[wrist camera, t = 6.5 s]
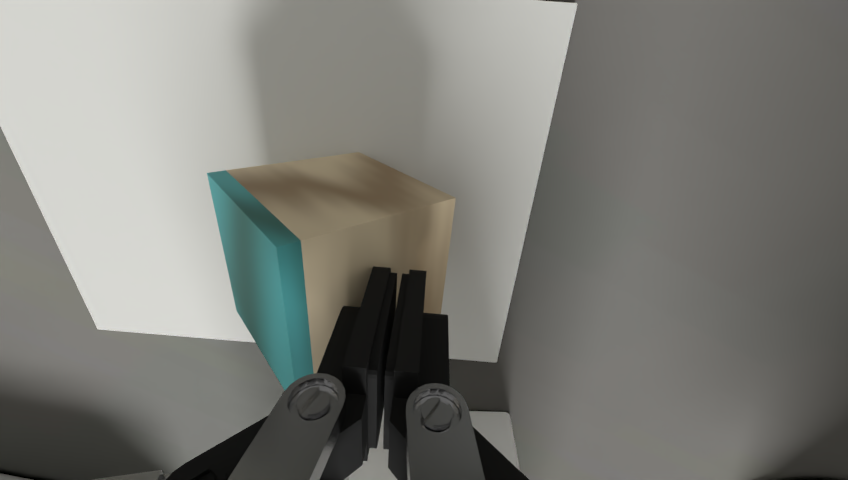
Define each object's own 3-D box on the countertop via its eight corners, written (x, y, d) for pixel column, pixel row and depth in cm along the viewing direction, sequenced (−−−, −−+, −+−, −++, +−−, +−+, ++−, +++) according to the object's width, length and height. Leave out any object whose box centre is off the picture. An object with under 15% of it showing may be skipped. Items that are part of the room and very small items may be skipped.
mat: (574, 4, 13) (577, 3, 13) (495, 358, 22) (496, 362, 22) (-72, -44, 14) (-83, -46, 13) (101, 325, 22) (97, 329, 22)
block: (455, 198, 12) (275, 247, 9) (438, 333, 15) (298, 412, 11) (359, 152, 16) (206, 172, 12) (359, 266, 19) (236, 310, 15)
